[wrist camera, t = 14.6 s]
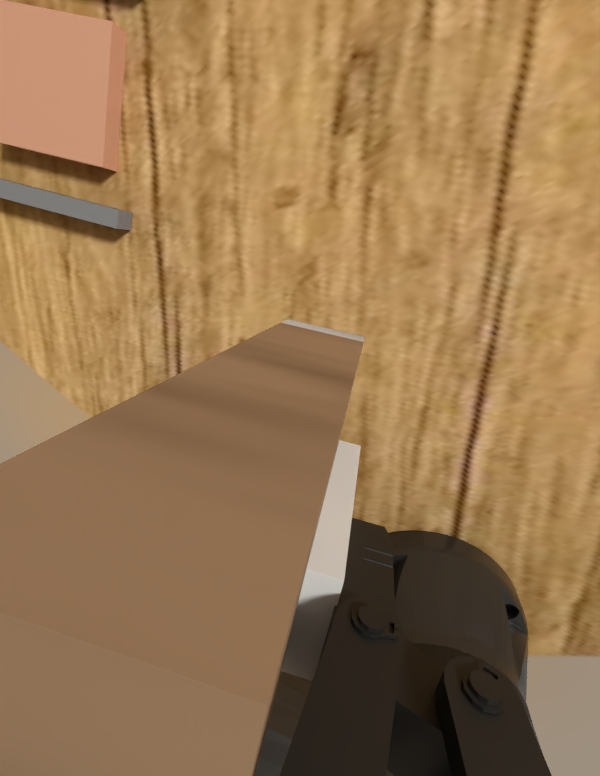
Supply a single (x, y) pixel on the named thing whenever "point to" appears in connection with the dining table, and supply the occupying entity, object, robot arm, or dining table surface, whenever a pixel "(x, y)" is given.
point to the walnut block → (167, 563)
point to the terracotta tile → (61, 84)
